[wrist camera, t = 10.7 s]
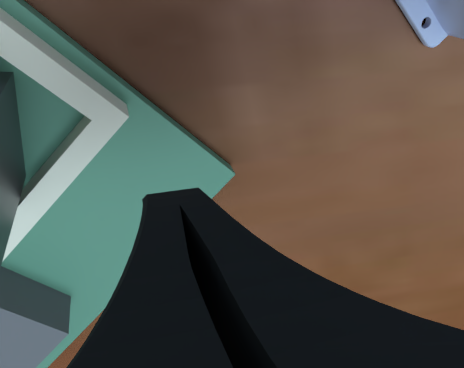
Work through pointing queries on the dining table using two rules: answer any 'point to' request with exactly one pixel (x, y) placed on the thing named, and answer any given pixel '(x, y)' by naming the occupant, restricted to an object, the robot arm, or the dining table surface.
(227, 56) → the dining table surface
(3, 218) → the dark grey upright block
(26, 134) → the circuit board
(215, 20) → the dining table surface
